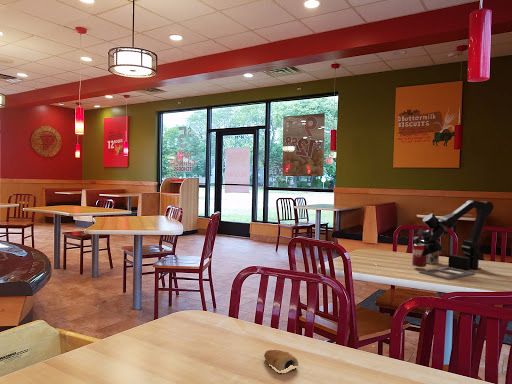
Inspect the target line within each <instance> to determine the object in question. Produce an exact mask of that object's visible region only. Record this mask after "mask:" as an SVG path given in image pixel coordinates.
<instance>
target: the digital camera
mask: <svg viewBox="0 0 512 384" xmlns="http://www.w3.org/2000/svg"><path fill="white" fill-rule="evenodd" d="M470 261H471V258H468V257H467V256H464V255H463V256H462V255H457V254H449V255H448V264H447V265H448V266H447V267H450V268H455V269H460V270H464V271H470V270H471V269H470Z"/></svg>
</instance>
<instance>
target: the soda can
mask: <svg viewBox="0 0 512 384" xmlns="http://www.w3.org/2000/svg"><path fill="white" fill-rule="evenodd" d="M426 248H427V245H425V244H415V243H413V244H412V259H411V260H412V264H411V265H412V266H413V267H416V268H426V267H427V263H426V261H427V255H426V256H422V253H423V252H424V251H425V249H426Z"/></svg>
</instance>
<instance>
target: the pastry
mask: <svg viewBox="0 0 512 384" xmlns="http://www.w3.org/2000/svg"><path fill="white" fill-rule="evenodd" d="M264 357H265V358H264ZM263 358H264V360H265V361H266V363H267V362H268V363H267V365H268V364H270V365H272V366H273V367H275V368H276V369H277V370H279V371H281V370H284V369H286V368H288V367H289V366H290V365H293V366H298V367H299V360H298V359H297V358H296V357H295V356H293V355H292V354H291V353H289V352H288V351H284V350H280V349H270V350H266V351H265V353H264V354H263Z"/></svg>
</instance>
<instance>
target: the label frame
mask: <svg viewBox="0 0 512 384" xmlns="http://www.w3.org/2000/svg"><path fill="white" fill-rule="evenodd" d="M418 273H419V274H423V275H428V276H431V277H436V278H438V279H439V278H440V279H444V280H446V281H447V280H448V281H450V280H454V279H459V278H463V277H467V276H468V277H469V276H473V275H475V274H476V273H475V272H473V271H470V270H468V271H465V270H460V269H456V268H451V267H448V266H441V267H434V268H429V269H424V270H423V269H422V270H419V271H418Z"/></svg>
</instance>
